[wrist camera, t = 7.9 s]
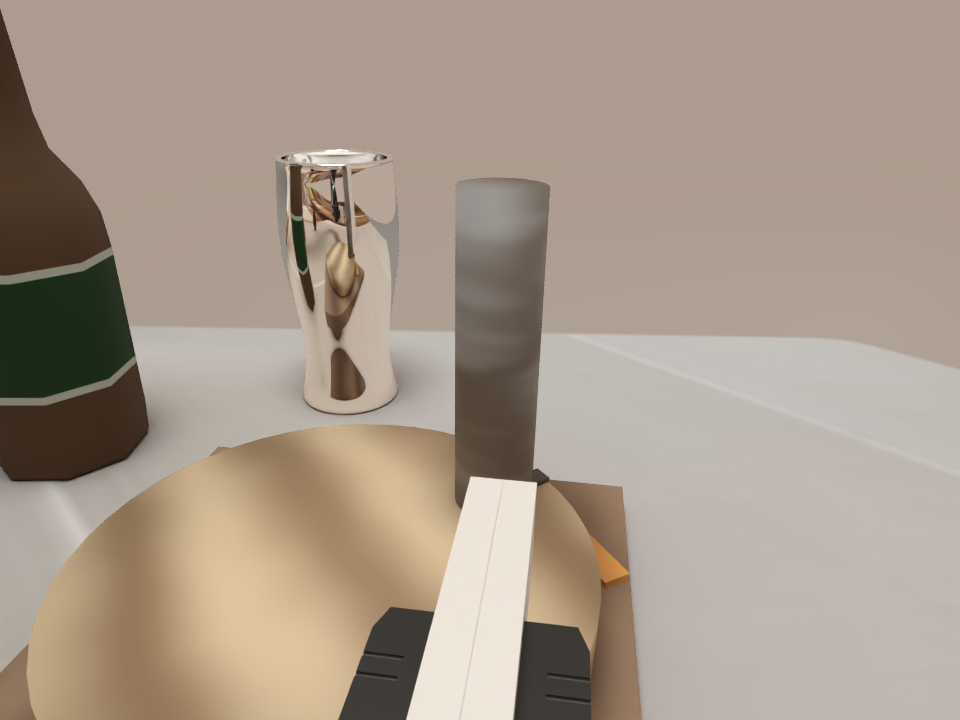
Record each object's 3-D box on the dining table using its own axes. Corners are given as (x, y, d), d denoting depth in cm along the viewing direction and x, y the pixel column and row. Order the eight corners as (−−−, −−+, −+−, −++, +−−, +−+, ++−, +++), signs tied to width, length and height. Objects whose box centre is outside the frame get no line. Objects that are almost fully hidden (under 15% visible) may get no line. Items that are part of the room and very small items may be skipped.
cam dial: (78, 1128, 12) (-291, 456, 6) (41, 565, 26) (-86, 179, 20) (707, 688, 22) (811, 236, 15) (435, 441, 35) (432, 149, 29)
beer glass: (378, 362, 48) (367, 146, 41) (422, 401, 42) (417, 160, 36) (282, 383, 44) (255, 151, 38) (317, 429, 39) (292, 167, 33)
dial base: (-204, 933, 16) (-231, 898, 16) (221, 465, 35) (217, 441, 35) (664, 1124, 14) (674, 1091, 13) (619, 507, 33) (622, 481, 32)
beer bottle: (6, 426, 39) (-149, -52, 29) (152, 402, 41) (58, -38, 32) (-24, 500, 32) (-237, -83, 22) (151, 466, 35) (33, -62, 25)
